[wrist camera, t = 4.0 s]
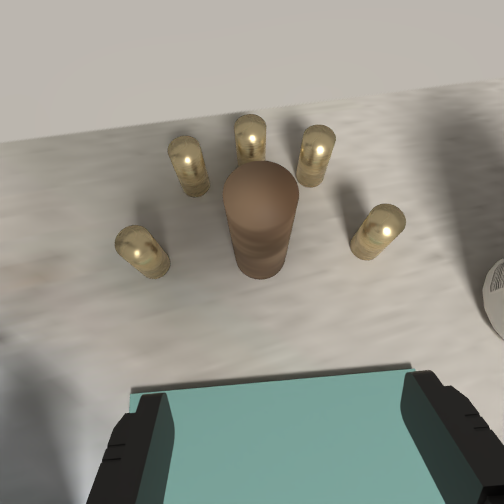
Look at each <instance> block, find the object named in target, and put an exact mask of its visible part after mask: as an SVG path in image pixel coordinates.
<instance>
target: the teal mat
mask: <svg viewBox="0 0 504 504" xmlns="http://www.w3.org/2000/svg"><path fill="white" fill-rule="evenodd" d="M414 371H415V369H403V370H392V371H381V372H370V373H359V374H348V375H337V376H325V377H314V378H303V379H292V380H281V381H270V382H258V383H247V384H236V385H225V386H214V387H203V388H192V389H180V390H169V391H158V392H147V393H136V394H130V408H129V413H135V412H136V409H137V406H138V403H139V400H140V398H141V396H142V395H143V394H152V393H164V392H165V393H166V394H167V397H168V401H169V405H170V409H171V413H172V417H173V421H174V427H175V439H174V446H173V452H172V457H171V463H170V469H169V474H168V480H167V485H166V491H165V497H164V502H163V504H445V502H444V500H443V498H442V496H441V494H440V492H439V490H438V488H437V486H436V484H435V482H434V480H433V478H432V476H431V475H430V473H429V471H428V469H427V467H426V465H425V463H424V461H423V459H422V457H421V455H420V453H419V451H418V449H417V447H416V445H415V443H414V441H413V439H412V437H411V435H410V434H409V432H408V430H407V428H406V426H405V424H404V421H403V418H402V415H401V410H400V402H401V396H402V390H403V384H404V378H405V374H406V373H407V372H414Z"/></svg>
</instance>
